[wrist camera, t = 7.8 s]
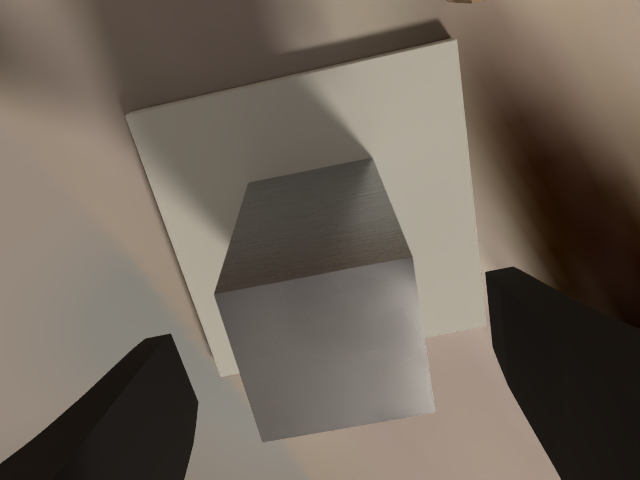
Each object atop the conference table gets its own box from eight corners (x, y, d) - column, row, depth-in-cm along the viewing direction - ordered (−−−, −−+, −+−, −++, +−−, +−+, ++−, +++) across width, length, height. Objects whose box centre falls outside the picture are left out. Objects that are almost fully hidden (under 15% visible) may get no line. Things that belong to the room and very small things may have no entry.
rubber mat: (451, 38, 16) (456, 39, 15) (481, 316, 20) (486, 325, 20) (130, 111, 17) (124, 115, 16) (223, 367, 21) (220, 377, 20)
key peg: (372, 157, 17) (412, 256, 10) (391, 268, 18) (435, 412, 12) (248, 182, 17) (213, 294, 11) (277, 290, 19) (262, 442, 12)
